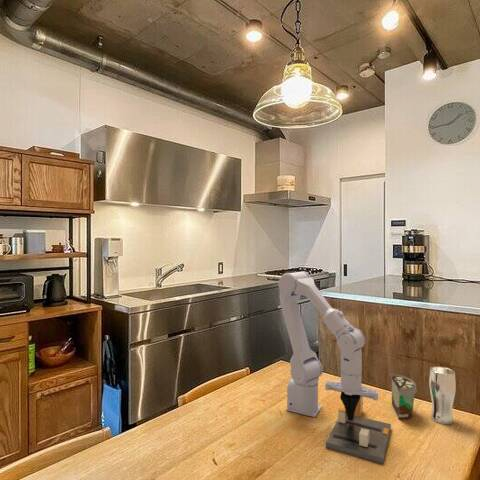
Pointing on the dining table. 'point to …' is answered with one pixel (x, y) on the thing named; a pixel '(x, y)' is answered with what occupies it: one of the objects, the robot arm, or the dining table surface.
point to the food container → (403, 396)
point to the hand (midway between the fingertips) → (350, 418)
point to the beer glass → (442, 394)
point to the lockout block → (359, 408)
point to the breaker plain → (364, 437)
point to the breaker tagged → (342, 415)
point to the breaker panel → (348, 438)
